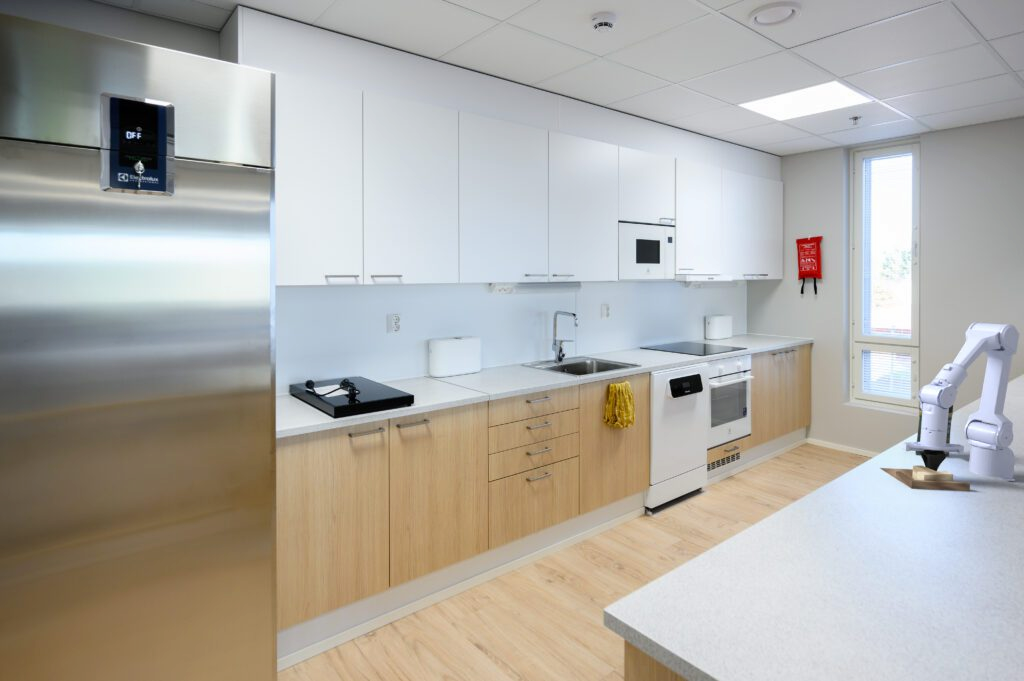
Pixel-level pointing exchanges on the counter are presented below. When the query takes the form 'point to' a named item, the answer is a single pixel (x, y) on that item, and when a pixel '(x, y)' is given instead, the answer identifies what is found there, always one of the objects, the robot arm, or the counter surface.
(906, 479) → the board
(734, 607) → the counter surface
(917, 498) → the counter surface
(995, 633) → the counter surface
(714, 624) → the counter surface
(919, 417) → the coffee jar
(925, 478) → the t block
